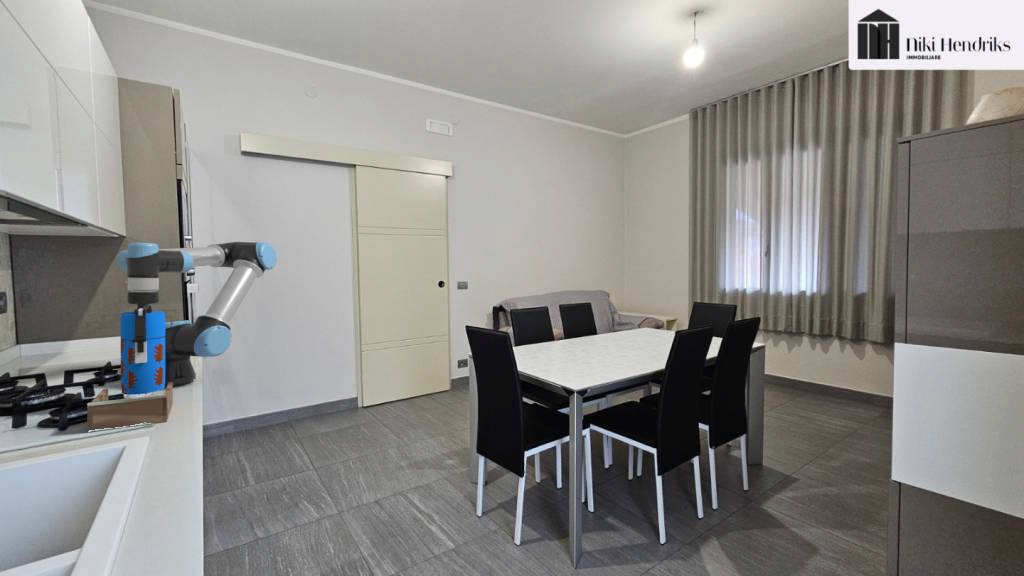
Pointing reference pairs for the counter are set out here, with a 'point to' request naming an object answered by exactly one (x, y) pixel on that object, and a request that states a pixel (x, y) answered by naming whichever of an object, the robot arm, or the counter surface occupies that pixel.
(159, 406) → the wooden frame
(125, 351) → the thermos
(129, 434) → the counter surface
